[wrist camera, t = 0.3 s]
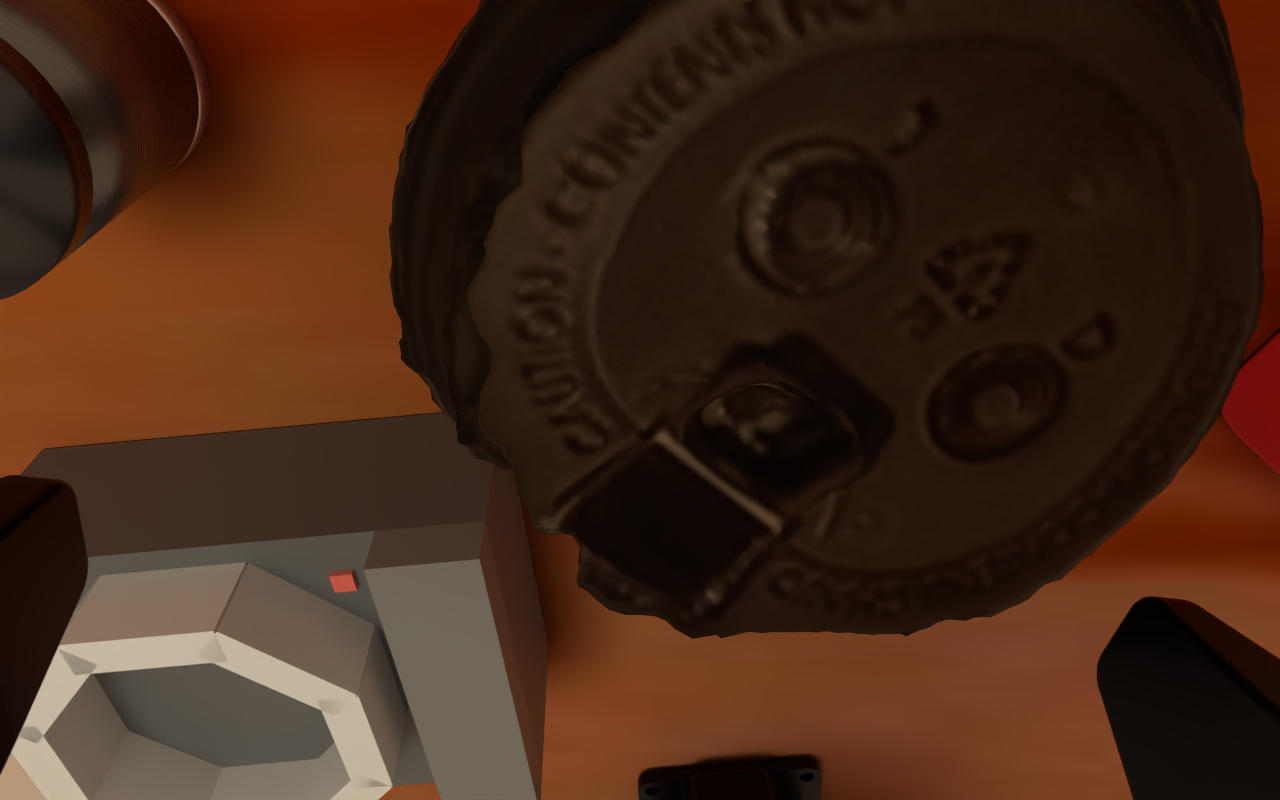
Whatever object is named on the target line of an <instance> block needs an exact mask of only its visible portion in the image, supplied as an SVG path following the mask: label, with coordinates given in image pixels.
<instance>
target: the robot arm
mask: <svg viewBox="0 0 1280 800" xmlns="http://www.w3.org/2000/svg"><path fill="white" fill-rule="evenodd" d="M87 575H88V555H87V550H86V544H85V539H84V534H83V529H82V524H81V518H80V513H79V508H78V503H77V498H76V495H75V492H74V490H73V488H72V487H71V485H69V484H68V483H67V482H65V481H63V480H59V479H52V478H42V477H33V476H24V475H9V476H5V477H2V478H0V774H1V773H2V770H3V768H4V766H5V764H6V762H7V760H8V758H9V756H10V754H11V752H12V750H13V748H14V745H15V743H16V741H17V739H18V737H19V734H20V732H21V730H22V728H23V726H24V723H25V721H26V719H27V717H28V714H29V712H30V710H31V708H32V705H33V703H34V701H35V699H36V696H37V694H38V692H39V690H40V687H41V685H42V683H43V681H44V678H45V676H46V674H47V672H48V669H49V667H50V665H51V663H52V660H53V658H54V656H55V654H56V651H57V649H58V647H59V645H60V642H61V640H62V638H63V636H64V633H65V631H66V629H67V627H68V624H69V622H70V620H71V618H72V615H73V613H74V611H75V609H76V607H77V604H78V602H79V600H80V598H81V595H82V593H83V590H84V588H85V584H86V581H87ZM1097 683H1098V687H1099V690H1100V693H1101V697H1102V700H1103V703H1104V706H1105V710H1106V713H1107V716H1108V719H1109V723H1110V726H1111V729H1112V732H1113V735H1114V739H1115V742H1116V745H1117V748H1118V752H1119V755H1120V758H1121V761H1122V764H1123V768H1124V771H1125V774H1126V777H1127V781H1128V784H1129V787H1130V790H1131V793H1132V797H1133V800H1280V659H1279V658H1277V657H1276V656H1274V655H1273V654H1271V653H1270V652H1268V651H1267V650H1265V649H1264V648H1262V647H1261V646H1259V645H1257V644H1256V643H1254V642H1253V641H1251V640H1250V639H1248V638H1247V637H1245V636H1244V635H1242V634H1241V633H1239V632H1238V631H1236V630H1235V629H1233V628H1232V627H1230V626H1229V625H1227V624H1226V623H1224V622H1223V621H1221V620H1220V619H1218V618H1217V617H1215V616H1214V615H1212V614H1210V613H1209V612H1207V611H1206V610H1204V609H1203V608H1201V607H1200V606H1198V605H1196V604H1195V603H1192V602H1190V601H1187V600H1182V599H1173V598H1164V597H1154V596H1150V597H1144V598H1142V599H1140V600H1139V601H1137V602H1136V603H1135V604H1134V605H1133V606H1132V607H1131V609H1130V610H1129V612H1128V613H1127V615H1126V616H1125V618H1124V619H1123V621H1122V623H1121V624H1120V626H1119V627H1118V629H1117V630H1116V632H1115V633H1114V635H1113V637H1112V638H1111V640H1110V641H1109V643H1108V644H1107V646H1106V647H1105V649H1104V651H1103V652H1102V654H1101V656H1100V658H1099V661H1098V664H1097ZM820 787H821V773H820V769H819V765H818V762H817V761H815V760H813V759H807V758H804V759H793V760H782V761H772V762H761V763H750V764H739V765H728V766H717V767H706V768H695V769H684V770H673V771H662V772H651V773H646V774H644V775H642V776H641V777H640V778H639V779H638V794H639V800H820Z"/></svg>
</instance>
